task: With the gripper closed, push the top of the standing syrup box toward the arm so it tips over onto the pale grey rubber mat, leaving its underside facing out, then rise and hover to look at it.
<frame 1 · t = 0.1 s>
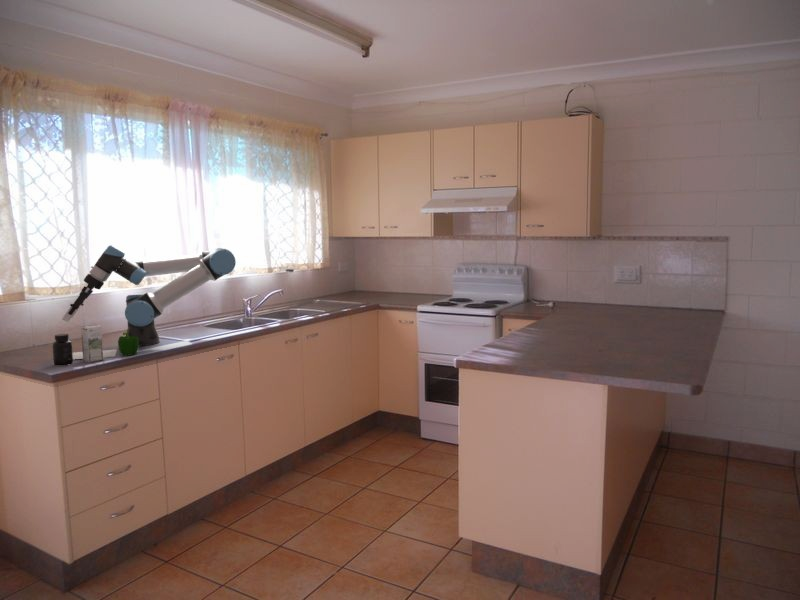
hand: (67, 318, 260), 15 cm above the countertop, tool tilted 35°, fingers open, 13 cm apart
mat: (93, 355, 258), on the countertop
bell pepper: (128, 355, 259), on the countertop
supplement bottle: (63, 364, 241), on the countertop
syrup box: (93, 361, 248), on the countertop
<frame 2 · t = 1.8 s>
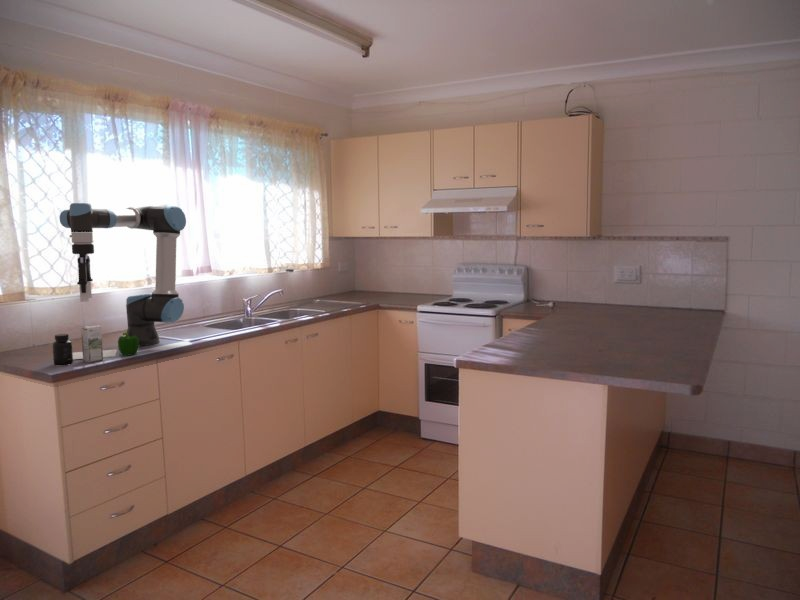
hand: (86, 299, 235), 26 cm above the countertop, tool pointing down, fingers open, 11 cm apart
nothing on the countertop moved.
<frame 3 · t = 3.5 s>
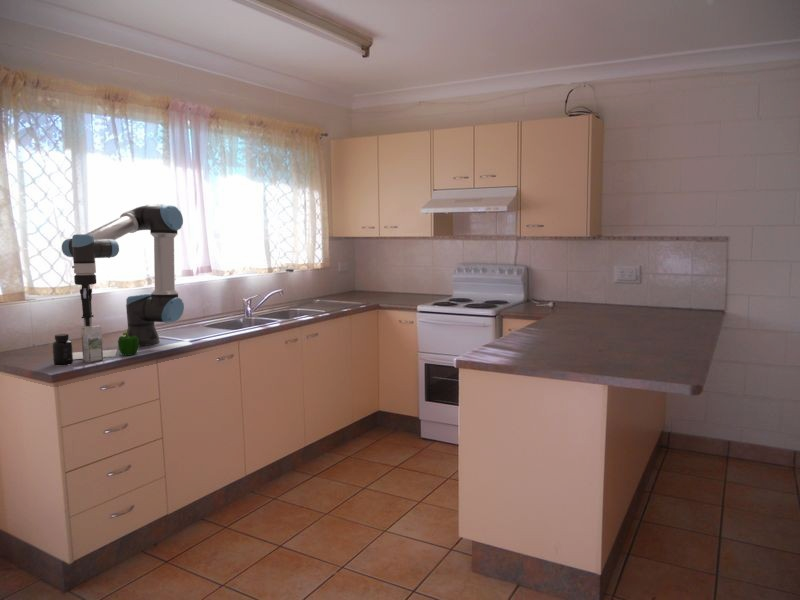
hand: (88, 334, 237), 13 cm above the countertop, tool pointing down, fingers closed
nothing on the countertop moved.
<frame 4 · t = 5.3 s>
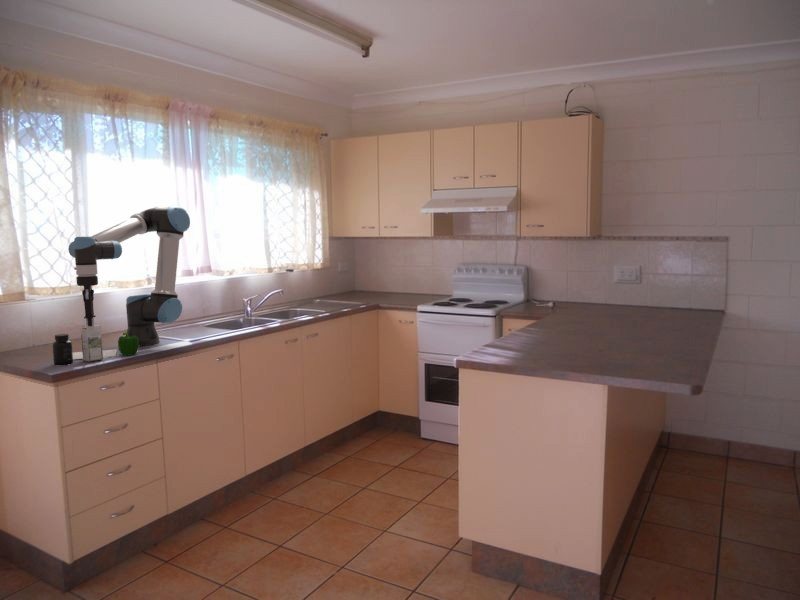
hand: (90, 333, 243), 12 cm above the countertop, tool pointing down, fingers closed
nothing on the countertop moved.
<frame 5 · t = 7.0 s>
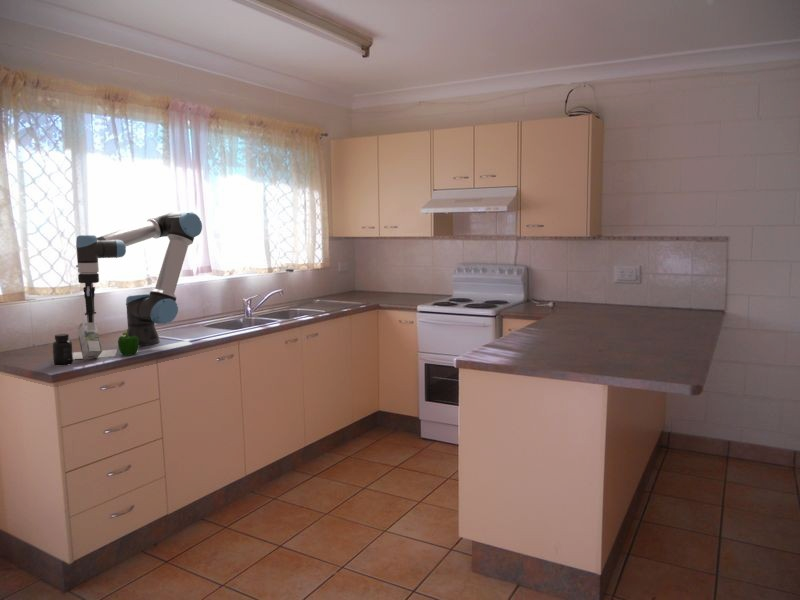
hand: (91, 329, 249), 12 cm above the countertop, tool pointing down, fingers closed
syrup box: (92, 355, 248), point 2 cm above the countertop, touching gripper, mat
everything else where it was.
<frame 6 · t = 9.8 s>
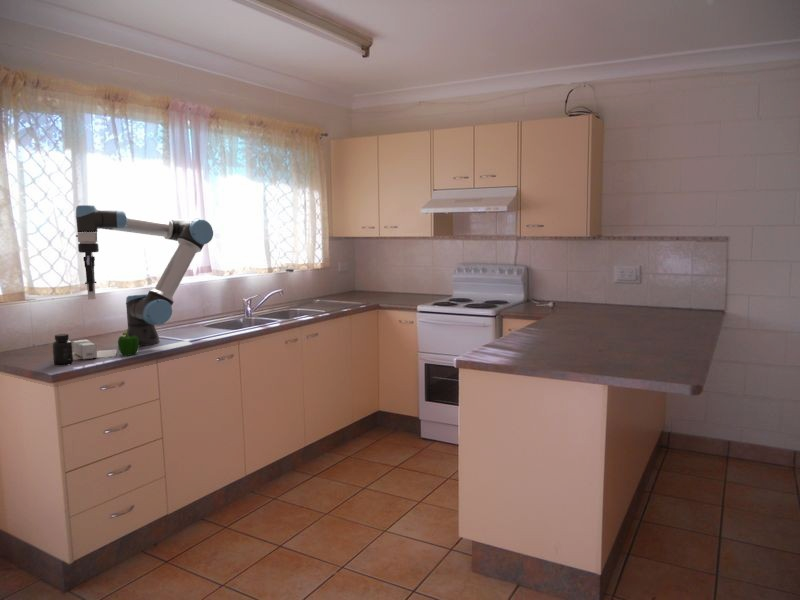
hand: (91, 299, 254), 24 cm above the countertop, tool pointing down, fingers closed
syrup box: (89, 351, 249), point 3 cm above the countertop, touching mat
everything else where it was.
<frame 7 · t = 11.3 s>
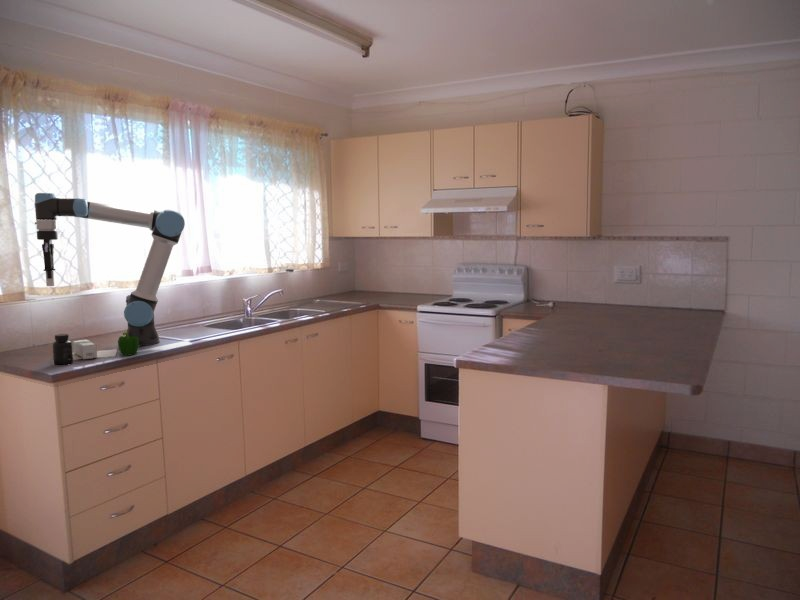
hand: (50, 286, 256), 30 cm above the countertop, tool pointing down, fingers closed
nothing on the countertop moved.
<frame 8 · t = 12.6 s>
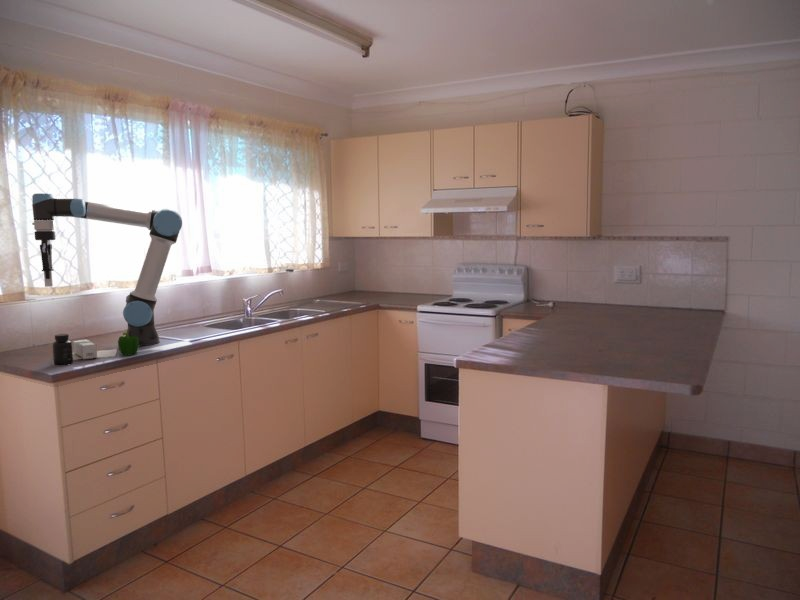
hand: (48, 286, 257), 29 cm above the countertop, tool pointing down, fingers closed
nothing on the countertop moved.
at the end: syrup box tilted 90°; syrup box inside the target area (4.6 cm from its centre), point 3.4 cm above the countertop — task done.
